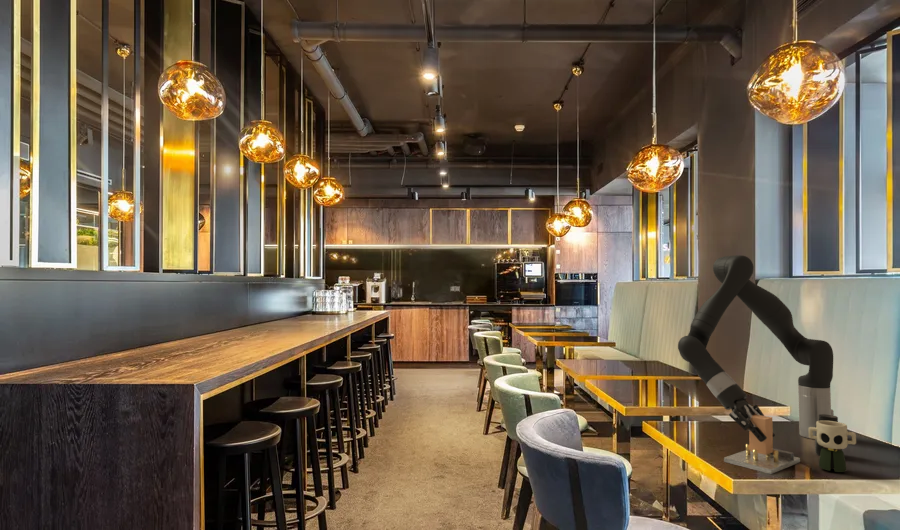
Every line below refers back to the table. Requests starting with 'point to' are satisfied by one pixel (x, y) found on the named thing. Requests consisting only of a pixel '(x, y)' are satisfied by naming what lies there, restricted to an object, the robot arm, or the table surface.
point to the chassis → (763, 460)
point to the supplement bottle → (821, 418)
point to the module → (767, 429)
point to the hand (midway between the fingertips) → (768, 438)
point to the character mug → (832, 444)
